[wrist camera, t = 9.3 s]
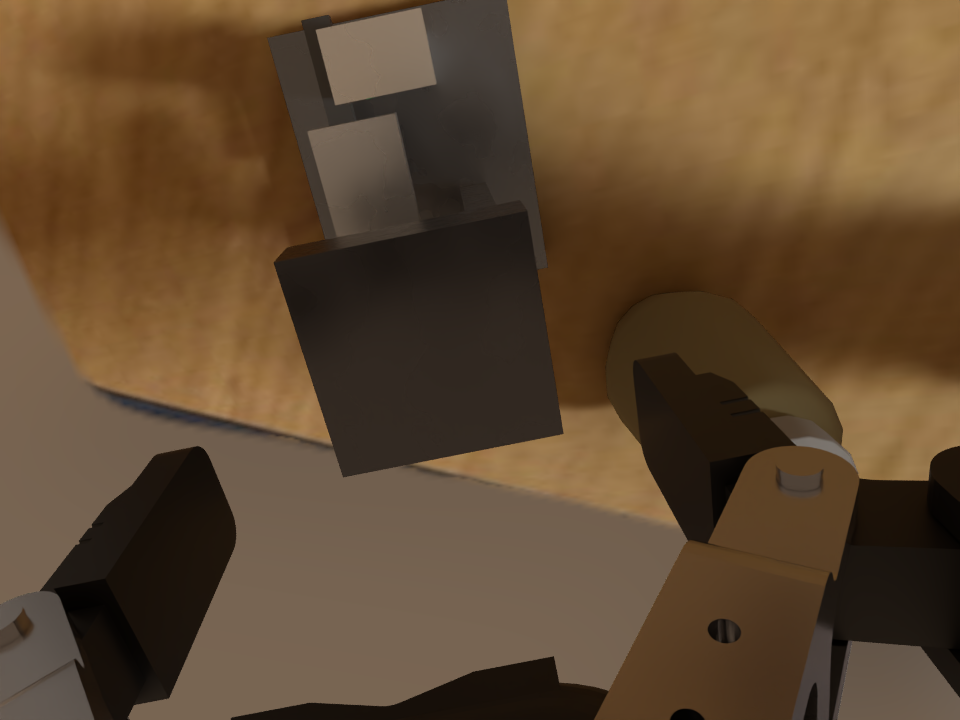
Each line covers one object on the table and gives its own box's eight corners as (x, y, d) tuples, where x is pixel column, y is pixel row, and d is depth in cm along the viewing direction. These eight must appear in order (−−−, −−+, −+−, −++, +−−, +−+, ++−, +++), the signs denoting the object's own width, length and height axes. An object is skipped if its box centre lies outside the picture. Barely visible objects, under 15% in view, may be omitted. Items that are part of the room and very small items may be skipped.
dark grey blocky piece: (520, 312, 27) (563, 433, 18) (375, 341, 27) (343, 477, 18) (481, 93, 23) (509, 100, 14) (316, 127, 24) (239, 156, 14)
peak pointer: (368, 166, 27) (366, 167, 26) (344, 170, 27) (341, 172, 26) (330, 16, 25) (328, 15, 24) (304, 21, 25) (301, 20, 24)
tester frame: (541, 257, 34) (592, 343, 23) (350, 296, 34) (307, 399, 23) (500, -7, 29) (539, -61, 18) (278, 40, 29) (180, 16, 18)
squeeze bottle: (558, 338, 35) (664, 565, 19) (682, 238, 34) (917, 392, 17) (645, 434, 38) (805, 707, 22) (763, 346, 36) (1036, 569, 20)
